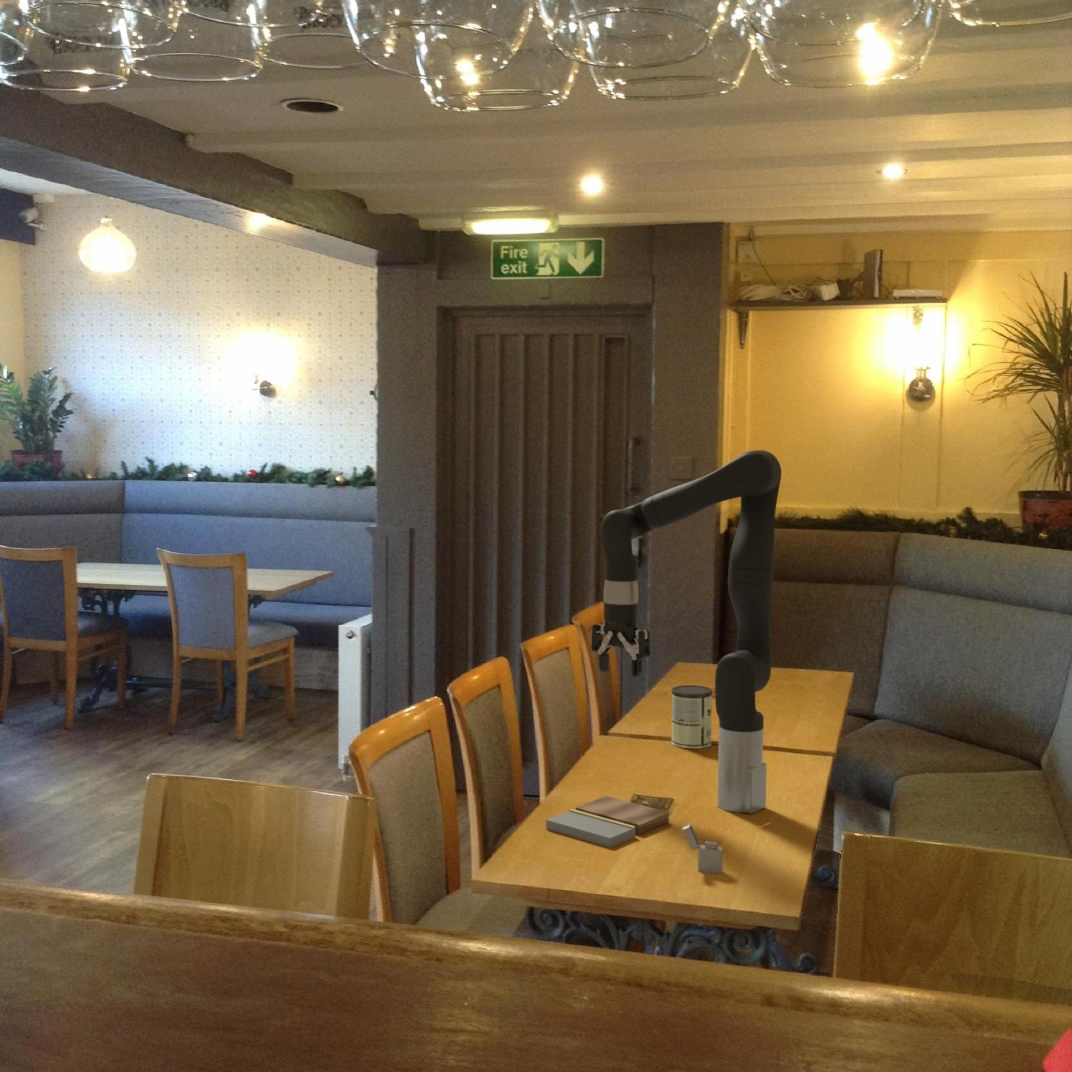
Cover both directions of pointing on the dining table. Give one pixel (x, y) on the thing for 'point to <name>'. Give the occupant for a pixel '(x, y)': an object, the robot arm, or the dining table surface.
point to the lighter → (705, 852)
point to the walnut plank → (626, 813)
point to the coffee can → (691, 716)
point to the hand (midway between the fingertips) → (619, 673)
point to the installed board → (591, 828)
